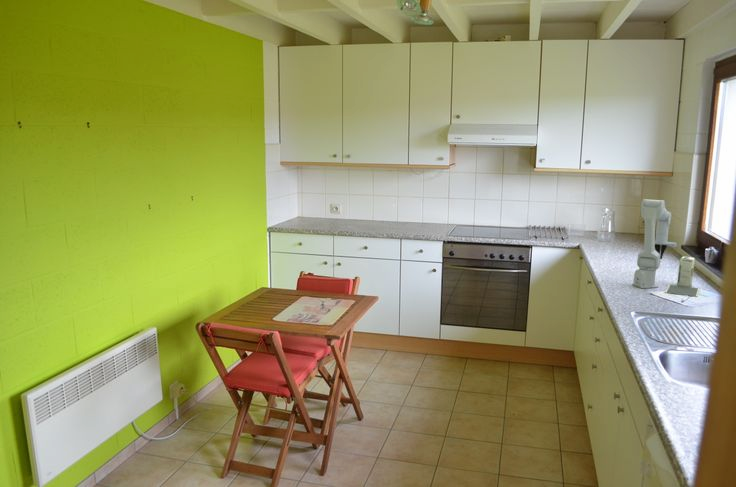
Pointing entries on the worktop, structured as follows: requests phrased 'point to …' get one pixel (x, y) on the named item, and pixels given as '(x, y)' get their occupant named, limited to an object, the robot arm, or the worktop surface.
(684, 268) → the syrup box
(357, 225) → the worktop surface
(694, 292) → the mat
